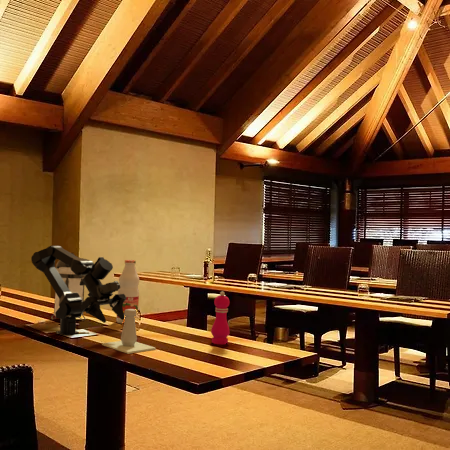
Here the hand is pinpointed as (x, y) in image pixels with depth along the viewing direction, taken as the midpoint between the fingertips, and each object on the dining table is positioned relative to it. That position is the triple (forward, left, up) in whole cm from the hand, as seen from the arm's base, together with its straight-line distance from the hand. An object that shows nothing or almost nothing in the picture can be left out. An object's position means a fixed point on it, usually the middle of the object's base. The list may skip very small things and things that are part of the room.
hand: (114, 320), depth 199 cm
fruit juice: (-33, +29, -9) cm, 45 cm away
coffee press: (-51, +11, -9) cm, 53 cm away
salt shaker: (+7, +1, -8) cm, 11 cm away
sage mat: (+8, +1, -8) cm, 12 cm away
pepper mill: (+20, +35, -9) cm, 42 cm away
